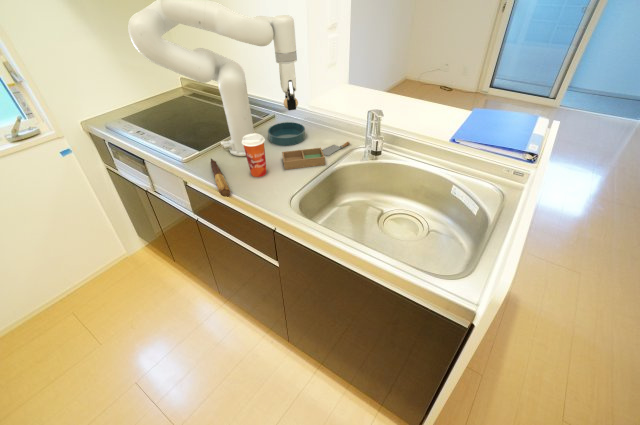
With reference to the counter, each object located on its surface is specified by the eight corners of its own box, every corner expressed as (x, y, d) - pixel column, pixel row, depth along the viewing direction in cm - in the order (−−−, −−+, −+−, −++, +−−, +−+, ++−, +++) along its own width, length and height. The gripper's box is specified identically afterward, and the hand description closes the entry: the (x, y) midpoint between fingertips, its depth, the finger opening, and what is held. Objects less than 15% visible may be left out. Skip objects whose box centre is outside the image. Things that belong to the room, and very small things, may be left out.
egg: (284, 111, 121) (283, 100, 118) (283, 107, 124) (282, 96, 122) (299, 109, 122) (298, 98, 119) (297, 105, 125) (296, 94, 123)
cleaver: (318, 153, 126) (327, 157, 123) (318, 150, 125) (327, 154, 122) (341, 141, 133) (350, 144, 130) (341, 138, 132) (350, 141, 129)
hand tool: (232, 191, 103) (228, 199, 104) (216, 157, 122) (212, 164, 122) (223, 187, 101) (218, 195, 101) (208, 154, 119) (204, 160, 120)
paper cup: (249, 180, 111) (242, 144, 102) (247, 169, 117) (240, 134, 108) (271, 176, 113) (266, 140, 104) (268, 166, 118) (262, 131, 110)
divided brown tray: (284, 169, 116) (283, 161, 114) (283, 159, 122) (282, 151, 120) (325, 165, 118) (324, 157, 116) (321, 155, 124) (320, 147, 122)
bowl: (269, 147, 130) (268, 139, 128) (267, 131, 142) (266, 124, 140) (308, 143, 132) (307, 135, 130) (302, 127, 144) (302, 120, 142)
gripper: (273, 52, 117) (279, 101, 129) (278, 63, 104) (284, 116, 116) (292, 50, 118) (297, 99, 130) (300, 61, 105) (304, 114, 117)
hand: (291, 107), depth 123 cm, fingers closed on egg, 4 cm apart
